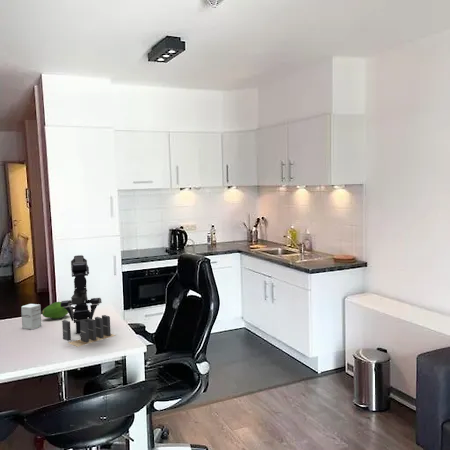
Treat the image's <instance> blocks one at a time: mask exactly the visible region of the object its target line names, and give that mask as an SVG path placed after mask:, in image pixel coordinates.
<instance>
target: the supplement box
mask: <svg viewBox="0 0 450 450" xmlns="http://www.w3.org/2000/svg"><path fill="white" fill-rule="evenodd" d="M20 307H21V312H20V313H21V328H22V329H24V330H35V329H38V328H40V327H42V311H41V307H42V306H41V304H39V303H38V304H37V303H28V304H25V305H22V306H20Z"/></svg>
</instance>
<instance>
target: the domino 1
mask: <svg viewBox="0 0 450 450" xmlns="http://www.w3.org/2000/svg"><path fill="white" fill-rule="evenodd" d="M61 322H62V324H61V325H62V339H63V340H65V341H69V342H70V341H71V340H72V337H71V336H72V333H71V332H72V331H71V321H69V320H66V319H64V320H62V321H61Z"/></svg>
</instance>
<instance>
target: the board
mask: <svg viewBox="0 0 450 450" xmlns="http://www.w3.org/2000/svg"><path fill="white" fill-rule="evenodd" d="M115 336H117V335H116V334H113V333H111V336H106V335H104V338H99V337H96V340H91V339H89V342H87V343H86V342H83V341H81V338H80V339H76V340H73V341H69V342H68V344H70V345H72V346H74V347H77V348H79V347H81V346H85V345H88V344H91V343H96V342H99V341H102V340H105V339H109V338H112V337H115Z"/></svg>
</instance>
